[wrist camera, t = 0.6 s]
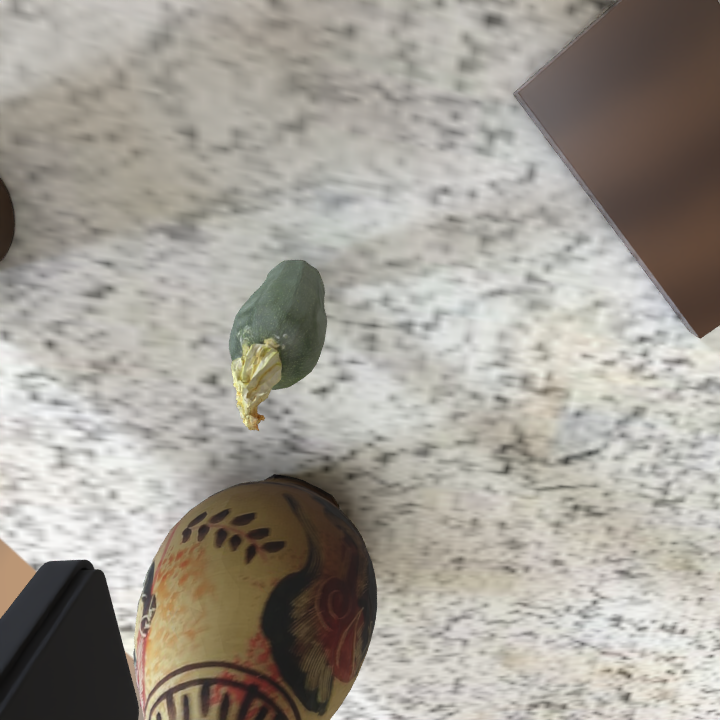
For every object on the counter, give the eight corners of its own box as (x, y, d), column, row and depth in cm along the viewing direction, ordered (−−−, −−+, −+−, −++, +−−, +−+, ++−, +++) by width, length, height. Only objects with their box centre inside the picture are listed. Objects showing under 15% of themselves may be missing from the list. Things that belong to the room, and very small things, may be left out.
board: (512, 93, 38) (517, 92, 37) (672, -48, 35) (684, -55, 34) (689, 332, 43) (700, 339, 41) (842, 224, 40) (859, 228, 39)
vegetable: (284, 234, 41) (204, 325, 23) (347, 252, 42) (320, 356, 23) (269, 297, 43) (184, 430, 24) (331, 314, 43) (293, 459, 25)
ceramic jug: (160, 454, 48) (-161, 928, 19) (361, 430, 46) (329, 900, 18) (212, 630, 53) (22, 1190, 25) (392, 612, 52) (404, 1183, 24)
